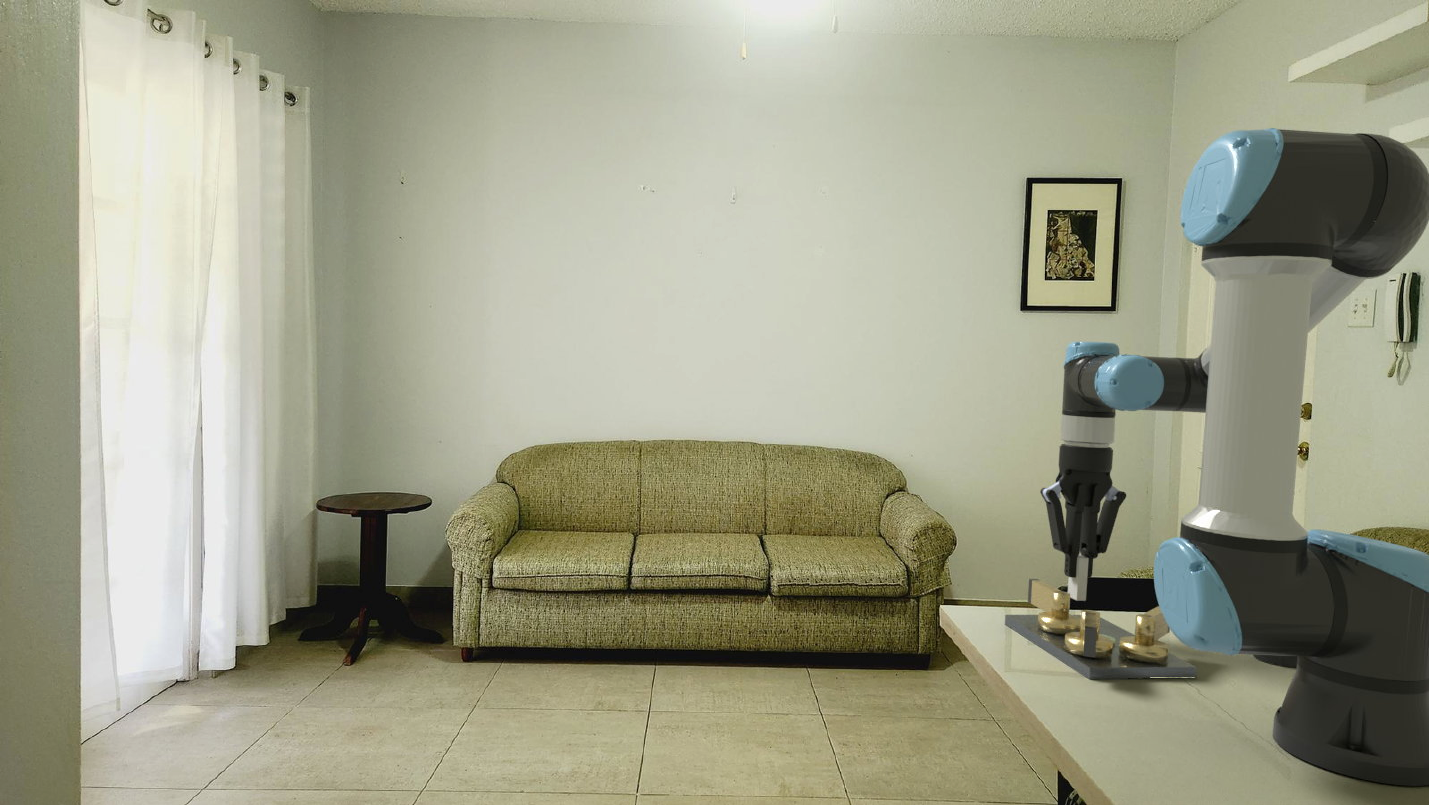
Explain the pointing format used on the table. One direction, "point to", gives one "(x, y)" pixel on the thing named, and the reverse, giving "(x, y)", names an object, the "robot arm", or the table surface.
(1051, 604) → the brass knob
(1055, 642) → the levelling plate
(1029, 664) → the table surface
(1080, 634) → the brass knob
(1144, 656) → the brass knob
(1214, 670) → the table surface
